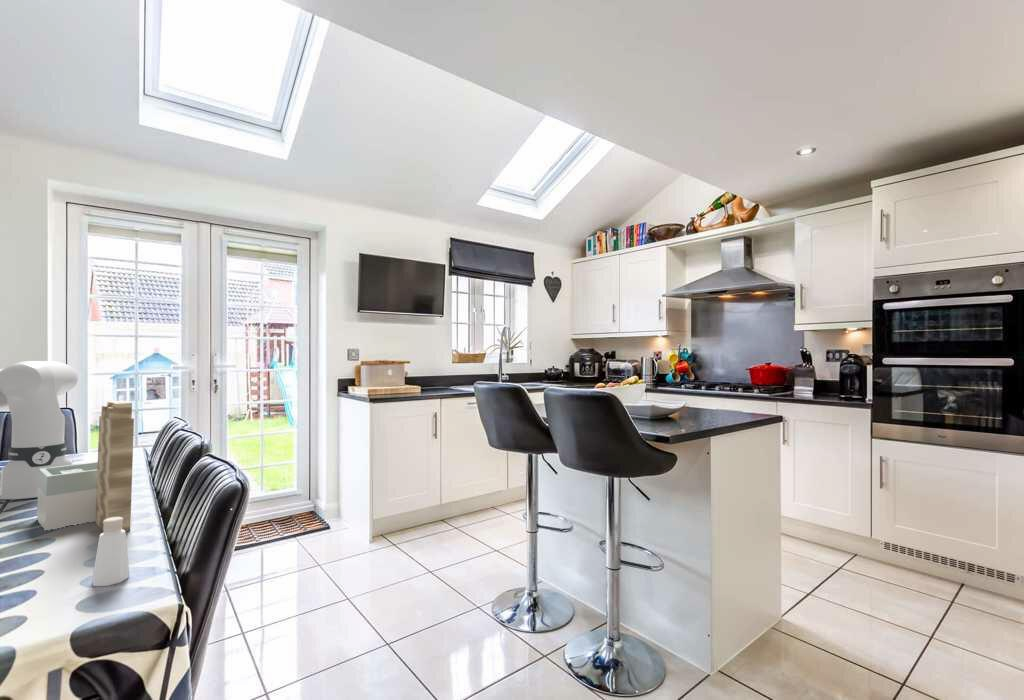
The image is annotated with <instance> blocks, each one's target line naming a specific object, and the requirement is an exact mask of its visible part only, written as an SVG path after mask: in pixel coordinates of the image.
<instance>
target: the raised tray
mask: <svg viewBox="0 0 1024 700" xmlns="http://www.w3.org/2000/svg"><path fill="white" fill-rule="evenodd" d="M73 469H82V470H84V471H81V472H73V473H65V474H59V471H65V470H73ZM97 470H98V461H93V462H86V463H77V464H76V463H75V464H72V465H67V466H58V467H50V468H42V469H39V479H38V497H37V508H36V509H37V510H36V521H37V520H38V521H37V522H38V523H39V525H40V524H41V525H40V526H41V527H43V528H44V529H43V528H42V529H43V531H44V532H47V531H46V530H48V531H52V530H51V529H53V530H57V529H56V528H59V529H62V528H61V527H64V528H66V527H65V526H69V525H74V526H76V525H75V524H79V525H82V524H81V523H84V524H87V523H86V522H89V523H93V521H94V522H96V498H97ZM69 527H70V526H69Z"/></svg>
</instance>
